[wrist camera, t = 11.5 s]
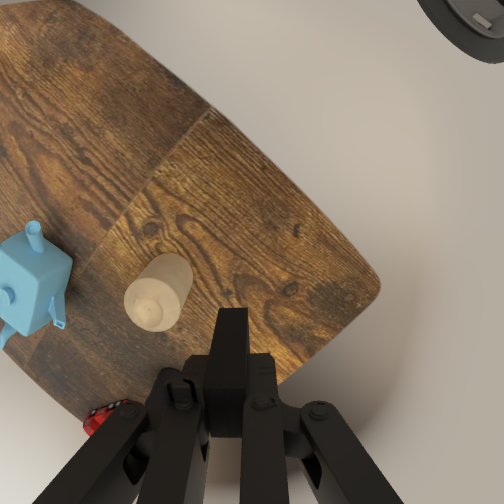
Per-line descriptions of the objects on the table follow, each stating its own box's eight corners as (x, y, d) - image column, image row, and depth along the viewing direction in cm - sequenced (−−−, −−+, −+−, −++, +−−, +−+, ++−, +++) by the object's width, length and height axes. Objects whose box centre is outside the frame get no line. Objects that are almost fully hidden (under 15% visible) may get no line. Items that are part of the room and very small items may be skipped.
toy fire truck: (87, 411, 43) (65, 450, 34) (145, 390, 41) (127, 436, 32) (100, 424, 44) (80, 464, 35) (159, 405, 42) (144, 452, 33)
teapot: (33, 189, 34) (-19, 200, 24) (115, 244, 36) (74, 271, 26) (5, 296, 38) (-35, 324, 28) (74, 348, 40) (41, 388, 30)
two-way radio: (153, 376, 41) (122, 456, 26) (168, 356, 40) (137, 438, 25) (188, 395, 42) (169, 478, 27) (203, 376, 41) (187, 462, 26)
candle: (139, 264, 36) (107, 299, 27) (178, 243, 36) (155, 273, 26) (163, 303, 38) (140, 347, 28) (202, 284, 37) (188, 326, 28)
